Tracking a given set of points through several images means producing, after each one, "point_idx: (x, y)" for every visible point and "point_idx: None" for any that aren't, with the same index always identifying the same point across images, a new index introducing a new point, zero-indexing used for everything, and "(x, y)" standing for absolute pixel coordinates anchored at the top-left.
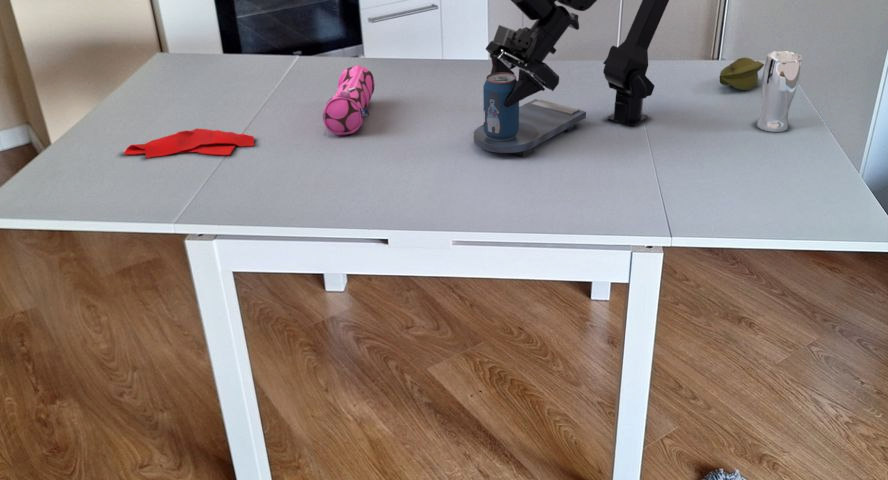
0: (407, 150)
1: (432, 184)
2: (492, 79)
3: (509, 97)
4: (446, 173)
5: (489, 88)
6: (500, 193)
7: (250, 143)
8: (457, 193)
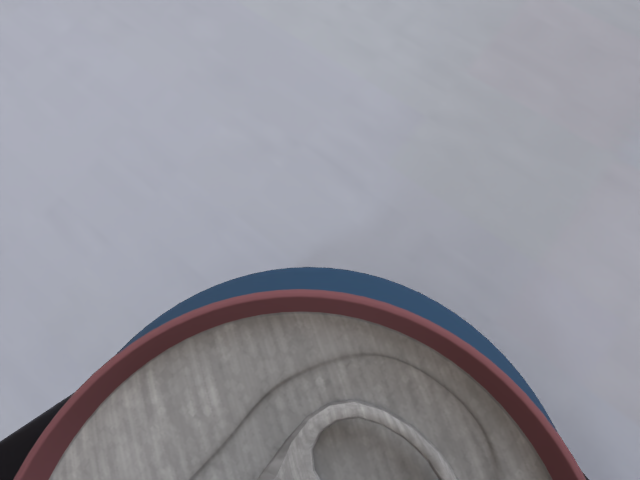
0: (572, 96)
1: (245, 8)
2: (350, 401)
3: (42, 416)
4: (286, 91)
5: (279, 277)
6: (16, 138)
7: None
8: (130, 31)
